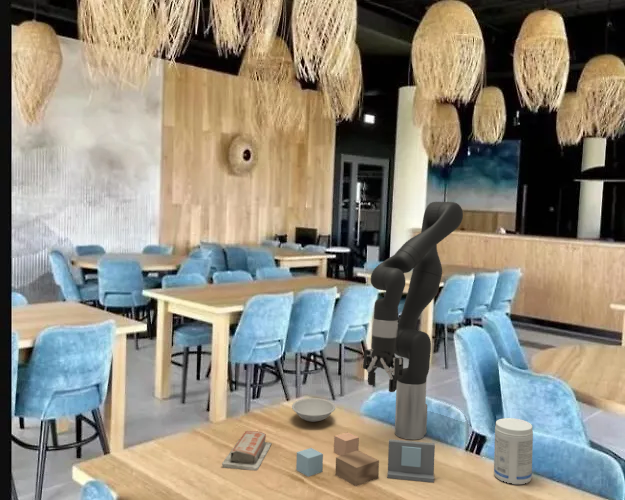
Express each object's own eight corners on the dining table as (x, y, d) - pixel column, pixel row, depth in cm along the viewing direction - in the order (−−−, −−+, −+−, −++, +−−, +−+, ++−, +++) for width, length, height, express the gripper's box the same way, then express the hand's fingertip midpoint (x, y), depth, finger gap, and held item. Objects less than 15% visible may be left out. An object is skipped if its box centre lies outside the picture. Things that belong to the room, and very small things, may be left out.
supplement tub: (529, 472, 164) (531, 419, 163) (533, 488, 155) (536, 431, 154) (491, 468, 166) (494, 416, 165) (494, 483, 157) (496, 428, 156)
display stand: (388, 468, 164) (389, 436, 164) (433, 472, 162) (434, 440, 161) (387, 478, 158) (388, 444, 158) (433, 482, 156) (435, 448, 156)
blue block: (310, 465, 165) (311, 447, 165) (322, 472, 161) (322, 453, 161) (296, 470, 162) (296, 452, 161) (307, 477, 158) (308, 458, 158)
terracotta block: (346, 448, 177) (347, 432, 177) (358, 454, 174) (358, 437, 173) (333, 452, 174) (334, 435, 174) (345, 458, 170) (345, 441, 170)
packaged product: (239, 428, 180) (272, 430, 178) (239, 443, 180) (271, 446, 179) (221, 451, 162) (257, 454, 160) (221, 469, 162) (257, 472, 161)
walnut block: (357, 468, 164) (358, 450, 164) (378, 478, 158) (379, 460, 158) (335, 475, 159) (335, 457, 159) (355, 487, 153) (356, 467, 153)
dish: (334, 431, 190) (334, 416, 190) (288, 429, 191) (289, 414, 191) (336, 413, 208) (336, 399, 208) (294, 411, 209) (294, 397, 209)
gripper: (411, 337, 176) (408, 392, 177) (376, 329, 187) (373, 381, 188) (393, 339, 171) (390, 396, 172) (358, 331, 182) (355, 384, 183)
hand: (381, 388), depth 180 cm, fingers open, 8 cm apart
